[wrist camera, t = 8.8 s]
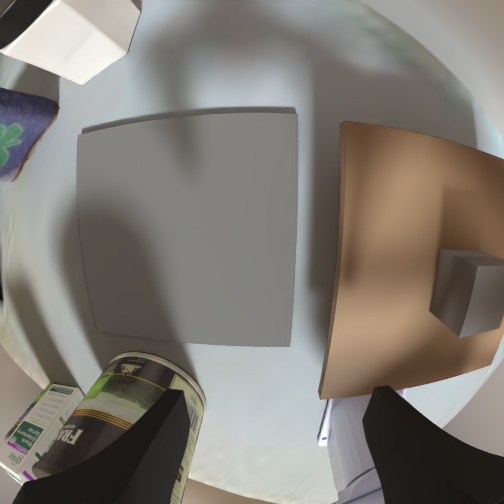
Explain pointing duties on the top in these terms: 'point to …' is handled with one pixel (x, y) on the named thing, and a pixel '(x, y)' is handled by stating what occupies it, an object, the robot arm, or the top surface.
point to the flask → (21, 128)
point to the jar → (67, 34)
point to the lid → (414, 262)
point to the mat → (191, 227)
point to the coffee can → (123, 413)
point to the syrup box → (37, 430)
